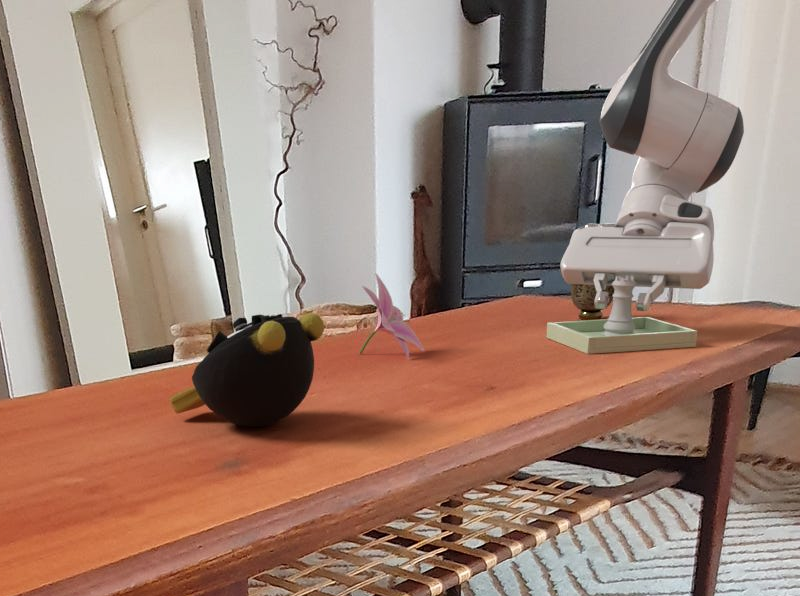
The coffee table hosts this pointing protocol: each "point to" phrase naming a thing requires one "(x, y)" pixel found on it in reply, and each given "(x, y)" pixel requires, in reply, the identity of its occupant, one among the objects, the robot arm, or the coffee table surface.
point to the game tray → (621, 336)
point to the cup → (588, 300)
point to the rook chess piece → (621, 308)
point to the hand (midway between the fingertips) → (620, 307)
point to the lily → (391, 319)
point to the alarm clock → (255, 370)
